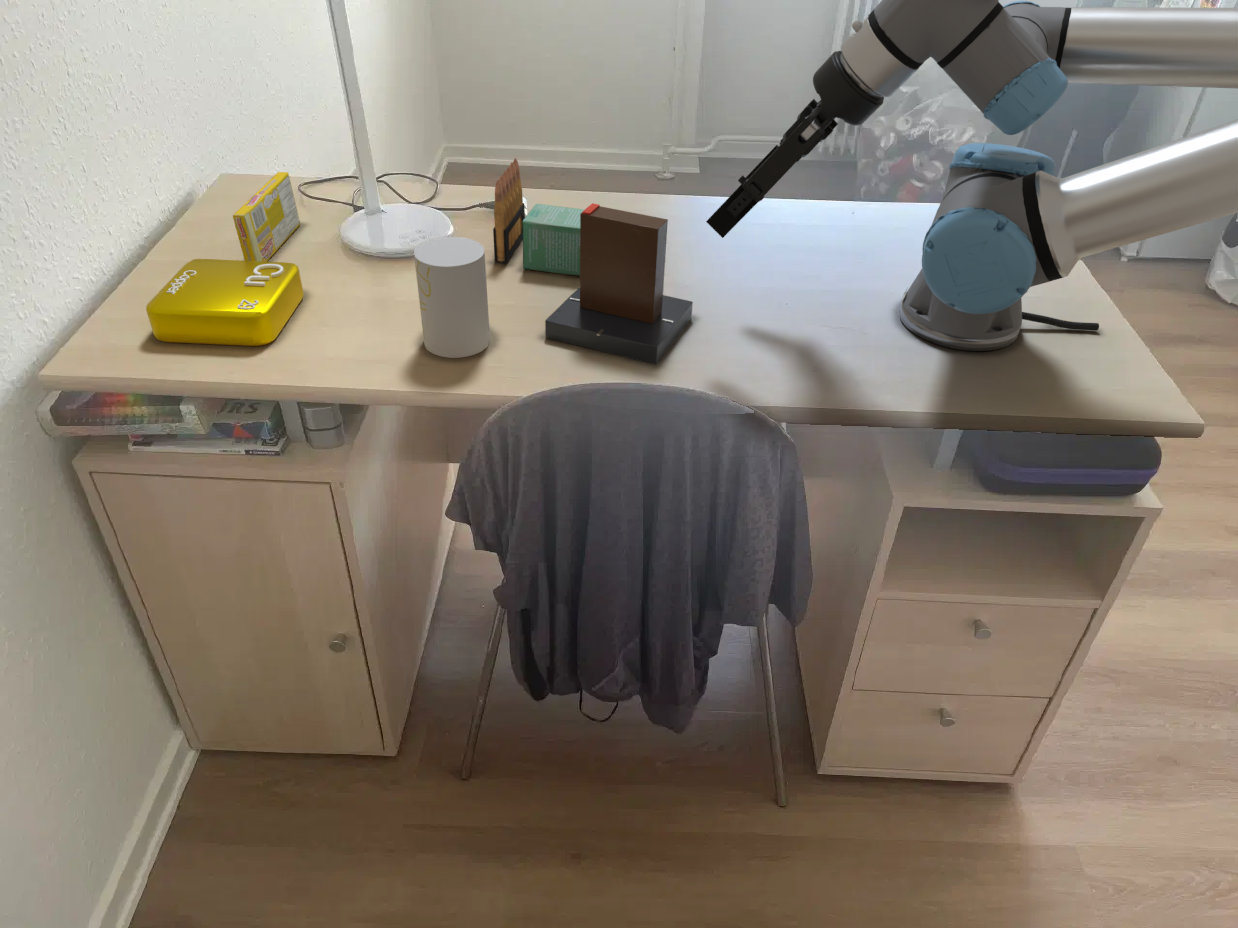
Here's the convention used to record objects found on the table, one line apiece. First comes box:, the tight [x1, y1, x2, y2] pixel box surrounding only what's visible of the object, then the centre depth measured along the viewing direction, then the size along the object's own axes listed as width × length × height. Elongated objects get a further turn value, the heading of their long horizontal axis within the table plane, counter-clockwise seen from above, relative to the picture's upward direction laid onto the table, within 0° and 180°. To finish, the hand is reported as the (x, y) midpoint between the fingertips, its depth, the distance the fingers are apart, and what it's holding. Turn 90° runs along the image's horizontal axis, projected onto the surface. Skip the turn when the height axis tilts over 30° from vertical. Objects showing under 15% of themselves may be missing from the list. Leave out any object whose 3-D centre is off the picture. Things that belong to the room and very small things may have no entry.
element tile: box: [145, 258, 305, 347], centre depth 117 cm, size 15×15×5 cm
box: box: [522, 203, 586, 277], centre depth 131 cm, size 7×14×8 cm, turn 79°
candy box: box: [232, 171, 301, 262], centre depth 132 cm, size 16×2×8 cm, turn 175°
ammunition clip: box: [492, 157, 526, 264], centre depth 133 cm, size 11×2×12 cm, turn 170°
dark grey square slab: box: [544, 286, 694, 366], centre depth 118 cm, size 15×14×3 cm
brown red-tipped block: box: [579, 203, 669, 324], centre depth 113 cm, size 10×3×13 cm, turn 67°
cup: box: [413, 236, 491, 359], centre depth 111 cm, size 8×8×12 cm
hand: (732, 208), depth 112 cm, fingers open, 13 cm apart
